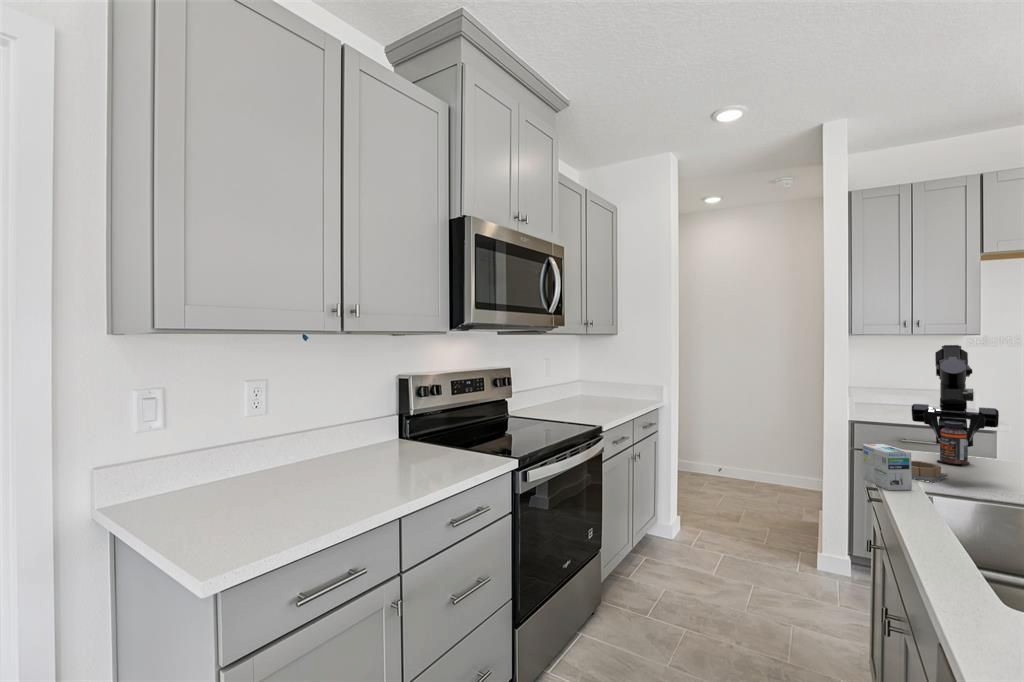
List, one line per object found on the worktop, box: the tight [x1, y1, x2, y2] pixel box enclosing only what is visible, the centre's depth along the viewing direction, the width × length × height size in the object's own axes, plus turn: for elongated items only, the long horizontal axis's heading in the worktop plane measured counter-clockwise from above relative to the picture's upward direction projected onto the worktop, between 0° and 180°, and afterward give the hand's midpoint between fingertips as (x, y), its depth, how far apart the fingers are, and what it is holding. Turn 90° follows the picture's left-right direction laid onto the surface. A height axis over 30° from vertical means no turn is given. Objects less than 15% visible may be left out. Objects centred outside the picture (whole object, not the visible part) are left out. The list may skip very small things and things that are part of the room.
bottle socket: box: [911, 460, 949, 483], centre depth 150 cm, size 10×10×4 cm
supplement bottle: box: [939, 421, 969, 464], centre depth 141 cm, size 6×6×11 cm
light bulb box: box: [862, 443, 913, 491], centre depth 143 cm, size 11×7×11 cm, turn 179°
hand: (953, 439), depth 140 cm, fingers closed on supplement bottle, 6 cm apart
